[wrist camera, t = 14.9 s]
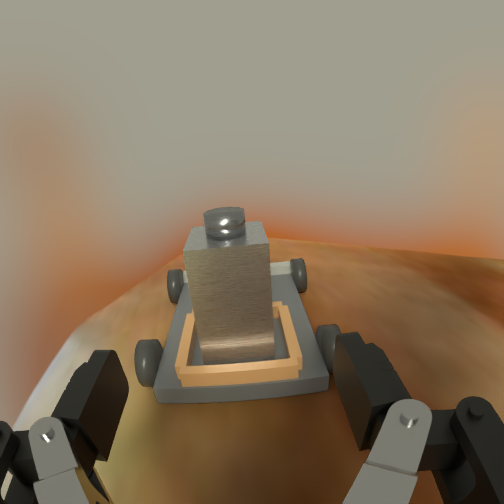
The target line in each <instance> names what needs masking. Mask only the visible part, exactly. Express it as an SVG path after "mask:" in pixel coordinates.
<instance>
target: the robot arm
mask: <svg viewBox="0 0 504 504" xmlns="http://www.w3.org/2000/svg"><path fill="white" fill-rule="evenodd" d="M333 376H334V381H335V384H336V387H337V390H338V393H339V395H340V398H341V401H342V403H343V406H344V409H345V412H346V414H347V417H348V420H349V423H350V426H351V428H352V431H353V434H354V437H355V440H356V443H357V445H358V448H359V451H362V450H366V449H370V451H371V452H370V454H369V456H368V458H367V460H366V461H365V462H364V464H363V466H362V468H361V470H360V472H359V474H358V476H357V477H356V479H355V481H354V483H353V485H352V487H351V489H350V490H349V492H348V494H347V496H346V498H345V499H344V501H343V503H342V504H408V503H409V501H410V498H411V495H412V493H413V490H414V487H415V485H416V482H417V478H418V474H416V473H417V471H426V470H431V471H432V473H433V476H434V478H435V481H436V484H437V486H438V489H439V491H440V494H441V497H442V500H443V502H444V504H504V424H503V422H502V421H501V419H500V418H499V416H498V414H497V413H496V411H495V410H494V408H493V407H492V405H491V404H490V403H489V402H488V401H486V400H485V399H483V398H480V397H475V396H472V397H467V398H464V399H463V400H461V401H460V402H459V404H458V405H457V407H456V409H452V410H430V409H429V408H428V406H427V405H425V404H424V403H422V402H420V401H418V400H414V399H412V398H411V397H410V395H409V393H408V391H407V390H406V388H405V386H404V385H403V383H402V381H401V380H400V378H399V376H398V374H397V373H396V371H395V370H394V369H393V366H392V365H391V363H390V362H389V360H388V358H387V356H386V355H385V353H384V351H383V350H382V349H380V348H379V347H377V346H376V345H375V344H373V343H369V344H365V343H364V342H363V340H362V338H361V336H360V335H359V333H358V332H351V333H344V334H338V335H336V339H335V350H334V361H333ZM128 393H129V386H128V381H127V378H126V376H125V373H124V371H123V368H122V366H121V363H120V361H119V358H118V355H117V353H116V352H115V351H114V350H95V351H94V352H93V354H92V355H91V357H90V359H89V361H88V363H86V362H84V363H83V364H82V365H81V366H80V367H79V368H78V369H77V370H75V372H74V374H73V376H72V377H71V379H70V382H69V383H68V385H67V387H66V390H64V392H63V394H62V396H61V398H60V400H59V402H58V404H57V405H56V407H55V409H54V411H53V413H52V415H51V417H44V418H41V419H39V420H38V421H36V422H35V423H34V424H33V425H32V426H31V428H30V430H26V431H13V430H12V429H11V427H10V426H9V425H8V424H7V423H6V422H4V421H0V504H114V503H113V501H112V499H111V497H110V496H109V494H108V492H107V490H106V488H105V486H104V484H103V482H102V480H101V478H100V476H99V474H98V472H97V470H96V469H95V467H94V464H95V460H99V461H106V462H107V460H108V457H109V454H110V450H111V447H112V444H113V440H114V437H115V434H116V431H117V428H118V425H119V421H120V418H121V415H122V412H123V409H124V406H125V403H126V400H127V397H128ZM7 471H9V472H10V473H11V474H12V475H13V477H12V480H11V483H10V485H9V488H8V491H7V494H6V497H5V500H3V499H2V497H1V487H2V484H3V481H4V479H5V476H6V474H7Z"/></svg>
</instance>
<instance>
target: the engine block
mask: <svg viewBox="0 0 504 504" xmlns="http://www.w3.org/2000/svg"><path fill="white" fill-rule="evenodd" d="M203 215H204V224H205V226H201V227H192V230H191V232H190V234H189V237H188V239H187V242H186V244H185V247H184V249H183V256H184V262H185V268H186V274H187V280H188V286H189V291H190V297H191V302H192V308H193V313H194V318H195V323H196V328H197V333H198V338H199V343H200V348H201V353H202V357H203V362H204V365H221V364H235V363H248V362H259V361H269V360H275V344H274V324H273V305H272V287H271V270H270V253H269V242H268V239H267V236H266V234H265V231H264V228H263V225H262V222H261V221H254V222H245V215H244V209H243V208H239V207H223V208H216V209H212V210H208V211H206V212H205V213H203Z"/></svg>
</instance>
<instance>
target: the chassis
mask: <svg viewBox="0 0 504 504" xmlns="http://www.w3.org/2000/svg"><path fill="white" fill-rule="evenodd" d="M270 270H271V287H272V305H273V324H274V344H275V360H269V361H259V362H248V363H235V364H221V365H204V362H203V357H202V353H201V348H200V343H199V338H198V333H197V328H196V323H195V318H194V313H193V308H192V302H191V297H190V291H189V286H188V280H187V274H186V270H185V271H184V273H183V272H182V270H181V269H176V270H169V271H168V275H167V288H168V295H169V298H170V301H171V302H172V303H178V304H177V307H176V310H175V314H174V317H173V320H172V323H171V327H170V330H169V333H168V337H167V340H166V344H165V347H164V351H163V349H162V346H161V344H160V342H159V341H158V340H157V339H152V340H139V341H138V343H137V345H136V349H135V371H136V375H137V378H138V381H139V383H140V384H141V385H142V386H144V387H153V391H154V393H155V396H156V399H157V401H158V403H212V402H231V401H245V400H257V399H268V398H277V397H286V396H294V395H301V394H309V393H315V392H322V391H328V385H329V373H333V361H334V350H335V339H336V335H338V334H341V332H340V329H339V327H338V326H337V325H336V324H331V325H323V326H318V328H317V332H316V338H315V335H314V333H313V330H312V327H311V325H310V322H309V319H308V317H307V314H306V311H305V309H304V306H303V304H302V301H301V298H300V296H299V293H298V292H305V291H306V289H307V273H306V267H305V263H304V260H303V258H300V259H291V261H290V263H289V261H286V262H276V263H270Z"/></svg>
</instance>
